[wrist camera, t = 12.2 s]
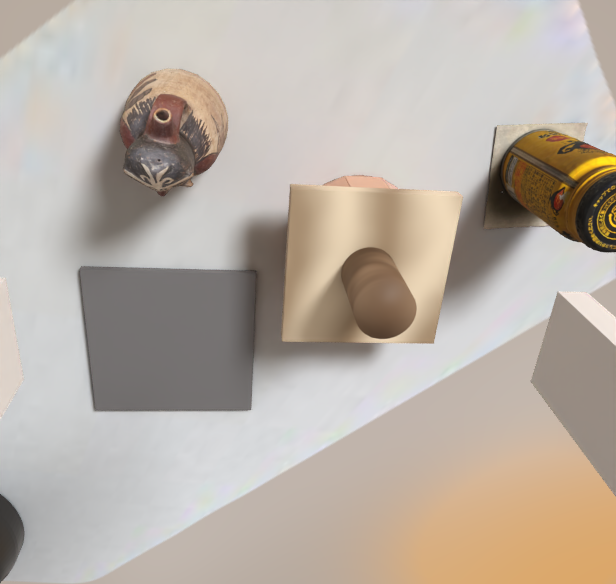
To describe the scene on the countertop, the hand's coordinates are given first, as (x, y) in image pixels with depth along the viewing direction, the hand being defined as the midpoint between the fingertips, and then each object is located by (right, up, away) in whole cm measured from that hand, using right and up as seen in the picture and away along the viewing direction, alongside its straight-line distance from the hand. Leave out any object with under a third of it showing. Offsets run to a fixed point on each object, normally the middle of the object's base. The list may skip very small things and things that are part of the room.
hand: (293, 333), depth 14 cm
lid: (+5, +3, +29) cm, 30 cm away
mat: (-11, -3, +36) cm, 38 cm away
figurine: (-9, +14, +28) cm, 32 cm away
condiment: (+19, +10, +33) cm, 39 cm away
